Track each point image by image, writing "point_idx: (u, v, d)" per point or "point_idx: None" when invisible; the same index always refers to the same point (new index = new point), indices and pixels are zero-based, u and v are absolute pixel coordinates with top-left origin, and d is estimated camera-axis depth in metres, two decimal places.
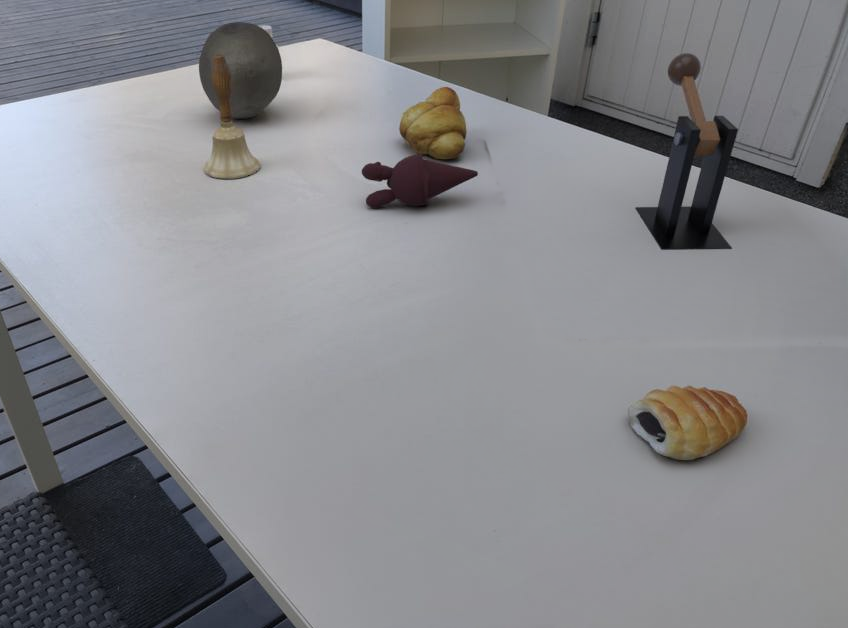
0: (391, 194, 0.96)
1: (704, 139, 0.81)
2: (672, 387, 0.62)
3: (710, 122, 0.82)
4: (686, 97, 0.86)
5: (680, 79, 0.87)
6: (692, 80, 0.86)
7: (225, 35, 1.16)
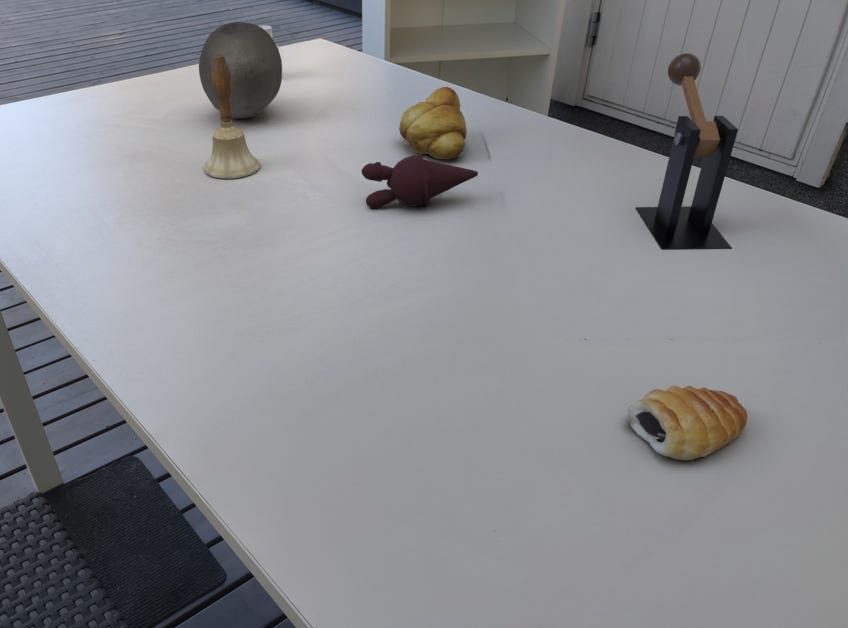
0: (391, 194, 0.96)
1: (704, 139, 0.81)
2: (672, 387, 0.62)
3: (710, 122, 0.82)
4: (686, 97, 0.86)
5: (680, 79, 0.87)
6: (692, 80, 0.86)
7: (225, 35, 1.16)
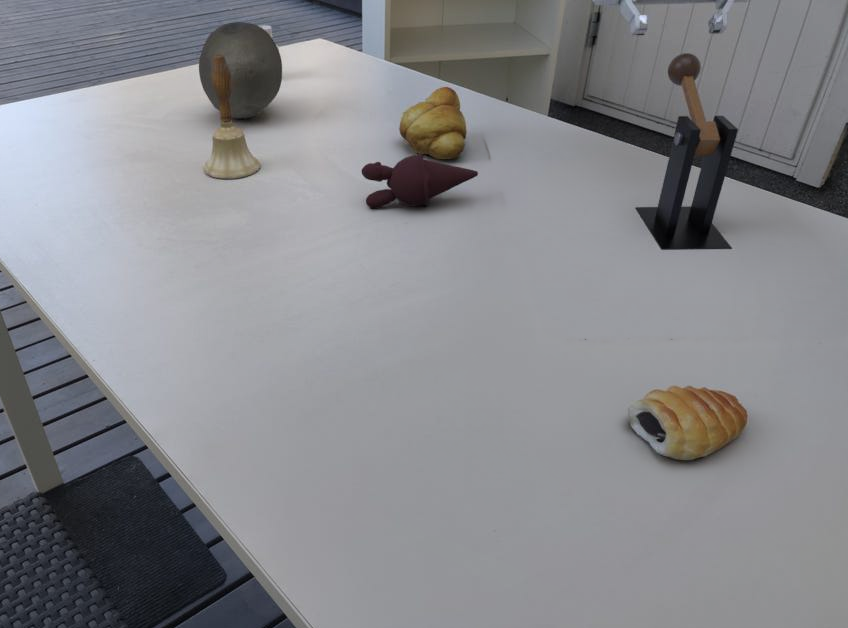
0: (391, 194, 0.96)
1: (704, 139, 0.81)
2: (672, 387, 0.62)
3: (710, 122, 0.82)
4: (686, 97, 0.86)
5: (680, 79, 0.87)
6: (692, 80, 0.86)
7: (225, 35, 1.16)
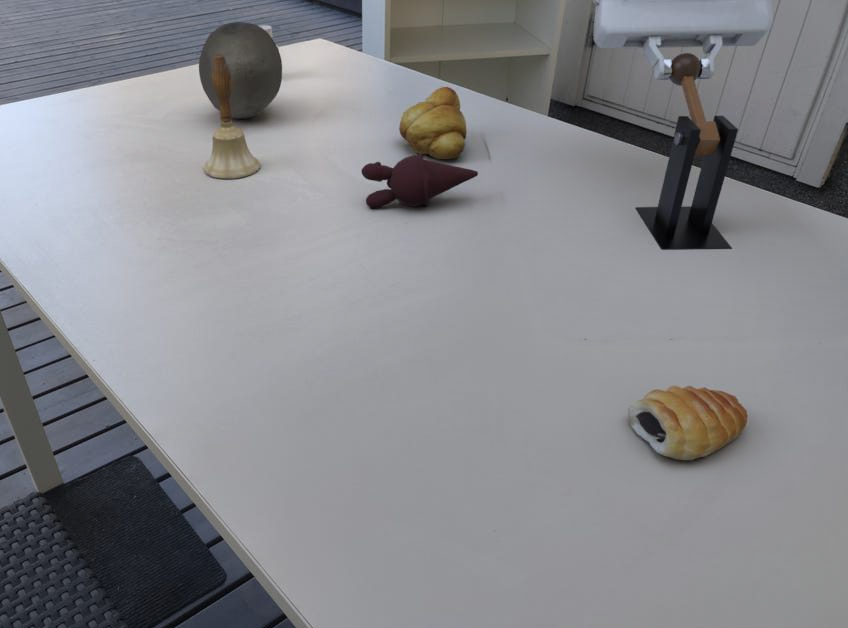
0: (391, 194, 0.96)
1: (704, 139, 0.81)
2: (672, 387, 0.62)
3: (710, 122, 0.82)
4: (686, 97, 0.86)
5: (680, 79, 0.87)
6: (692, 80, 0.86)
7: (225, 35, 1.16)
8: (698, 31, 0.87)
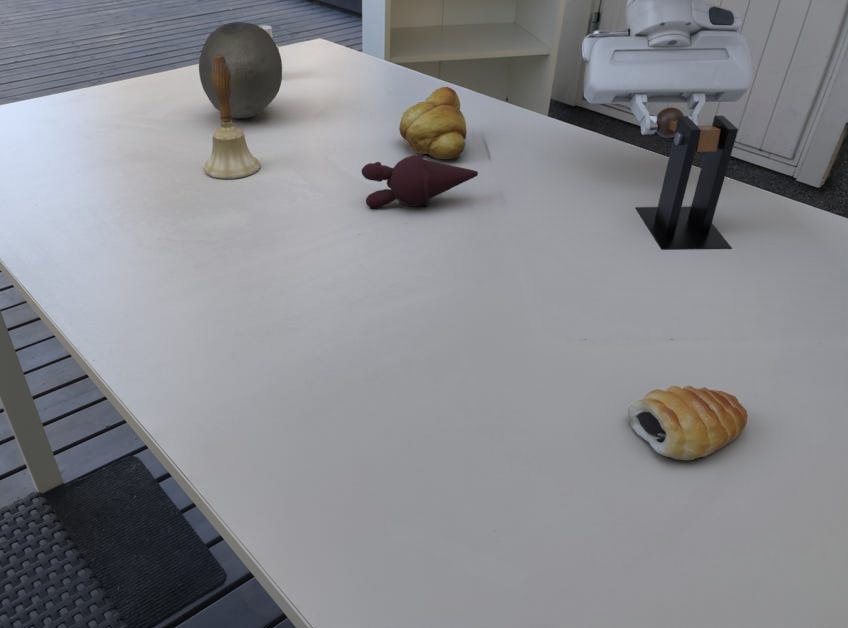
0: (391, 194, 0.96)
1: (704, 129, 0.81)
2: (672, 387, 0.62)
3: (706, 125, 0.83)
4: None
5: (667, 125, 0.91)
6: None
7: (225, 35, 1.16)
8: (682, 89, 0.92)
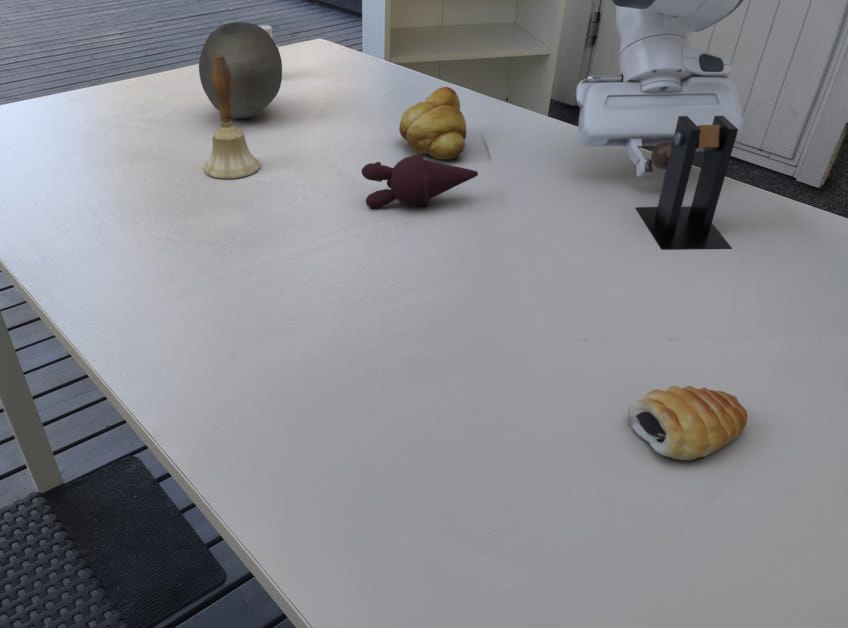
0: (391, 194, 0.96)
1: (703, 125, 0.81)
2: (672, 387, 0.62)
3: None
4: None
5: (665, 153, 0.92)
6: None
7: (225, 35, 1.16)
8: None
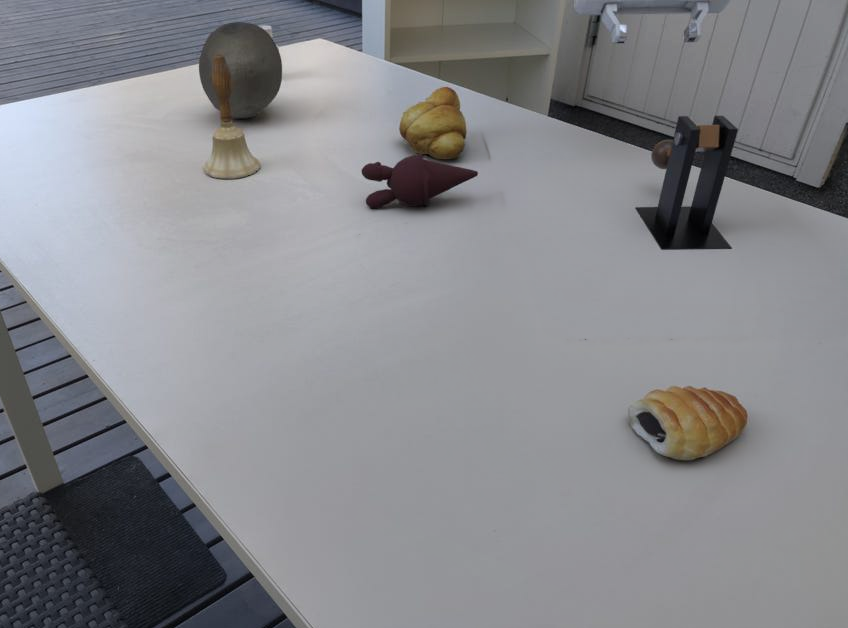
0: (391, 194, 0.96)
1: (703, 125, 0.81)
2: (672, 387, 0.62)
3: None
4: None
5: (665, 152, 0.92)
6: None
7: (225, 35, 1.16)
8: None
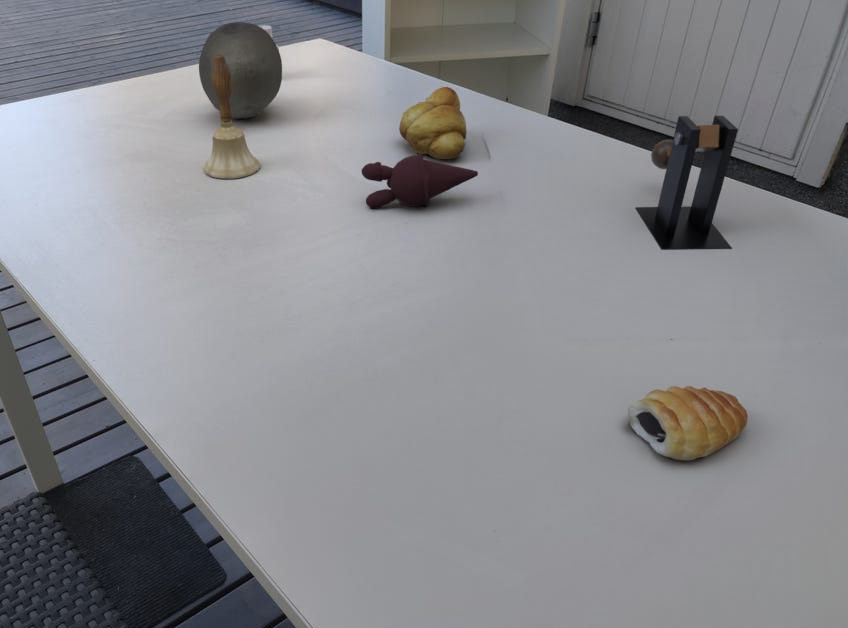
0: (391, 194, 0.96)
1: (703, 125, 0.81)
2: (672, 387, 0.62)
3: None
4: None
5: (665, 152, 0.92)
6: None
7: (225, 35, 1.16)
8: None
